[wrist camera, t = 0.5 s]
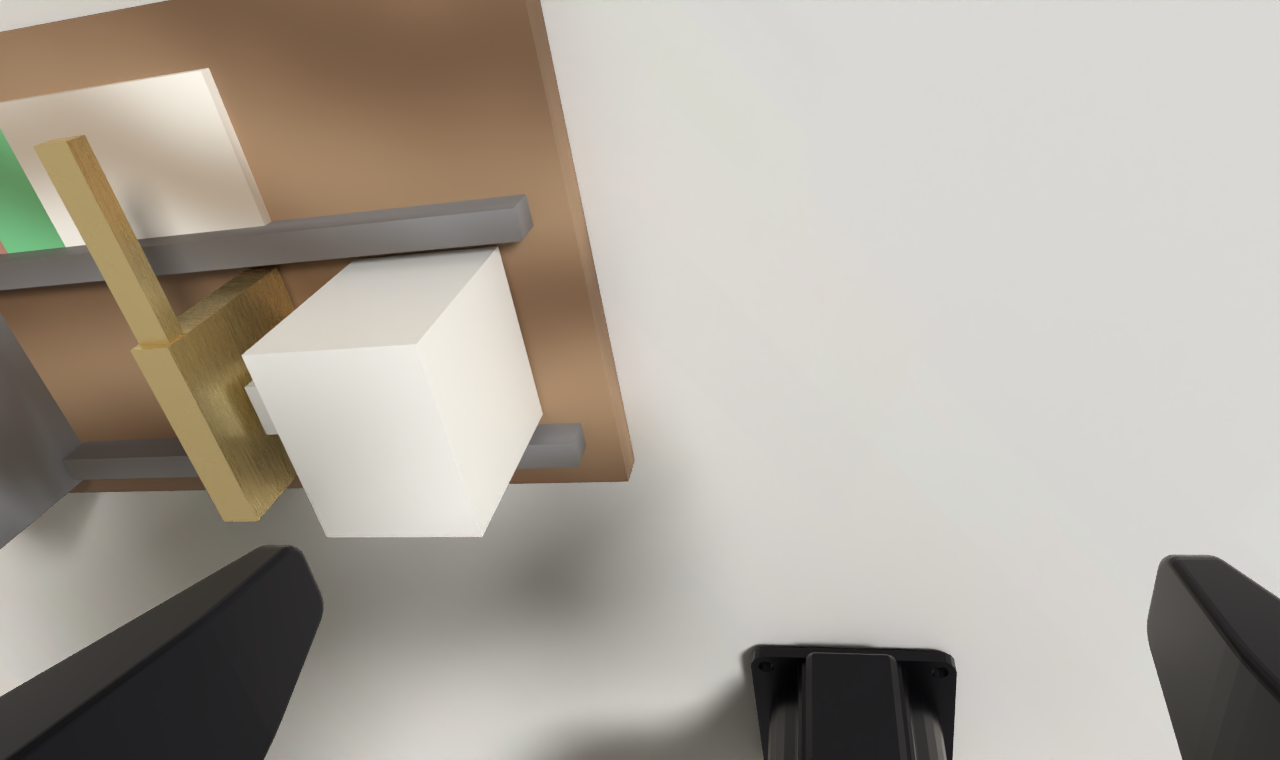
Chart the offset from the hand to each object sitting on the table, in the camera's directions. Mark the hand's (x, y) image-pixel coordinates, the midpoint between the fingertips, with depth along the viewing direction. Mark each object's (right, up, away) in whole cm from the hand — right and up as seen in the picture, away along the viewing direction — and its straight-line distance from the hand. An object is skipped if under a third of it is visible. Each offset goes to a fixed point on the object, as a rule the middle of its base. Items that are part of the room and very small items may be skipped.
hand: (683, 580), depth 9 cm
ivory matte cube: (-7, +3, +13) cm, 15 cm away
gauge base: (-11, +5, +14) cm, 19 cm away
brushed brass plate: (-11, +5, +13) cm, 18 cm away
